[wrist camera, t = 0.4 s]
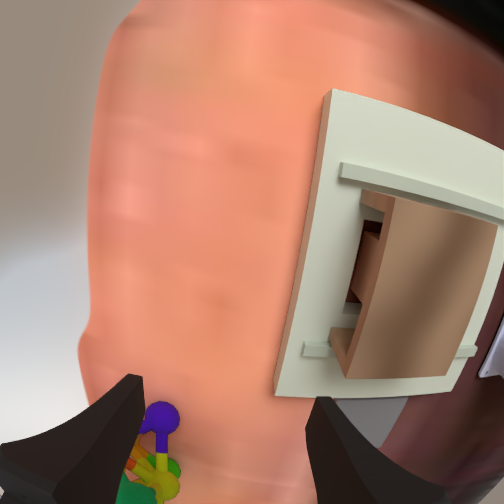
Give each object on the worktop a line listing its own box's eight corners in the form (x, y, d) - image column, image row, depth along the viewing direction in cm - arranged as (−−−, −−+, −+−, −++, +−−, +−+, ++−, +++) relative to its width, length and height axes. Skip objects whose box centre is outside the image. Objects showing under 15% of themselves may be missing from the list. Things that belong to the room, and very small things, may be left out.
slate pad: (406, 393, 23) (408, 397, 23) (378, 443, 25) (380, 447, 25) (335, 395, 23) (337, 400, 22) (314, 446, 25) (315, 451, 24)
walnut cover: (456, 211, 17) (498, 225, 13) (417, 341, 19) (445, 375, 15) (362, 188, 16) (395, 197, 12) (328, 337, 19) (345, 379, 15)
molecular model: (184, 471, 26) (169, 561, 15) (119, 456, 26) (89, 539, 15) (190, 399, 23) (164, 518, 12) (108, 380, 23) (52, 481, 12)
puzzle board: (506, 159, 18) (527, 161, 15) (441, 378, 23) (453, 395, 21) (324, 95, 17) (335, 86, 14) (273, 378, 22) (275, 401, 20)
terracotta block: (414, 239, 20) (455, 262, 15) (400, 293, 21) (434, 327, 16) (363, 230, 19) (398, 253, 14) (350, 288, 20) (377, 324, 16)
